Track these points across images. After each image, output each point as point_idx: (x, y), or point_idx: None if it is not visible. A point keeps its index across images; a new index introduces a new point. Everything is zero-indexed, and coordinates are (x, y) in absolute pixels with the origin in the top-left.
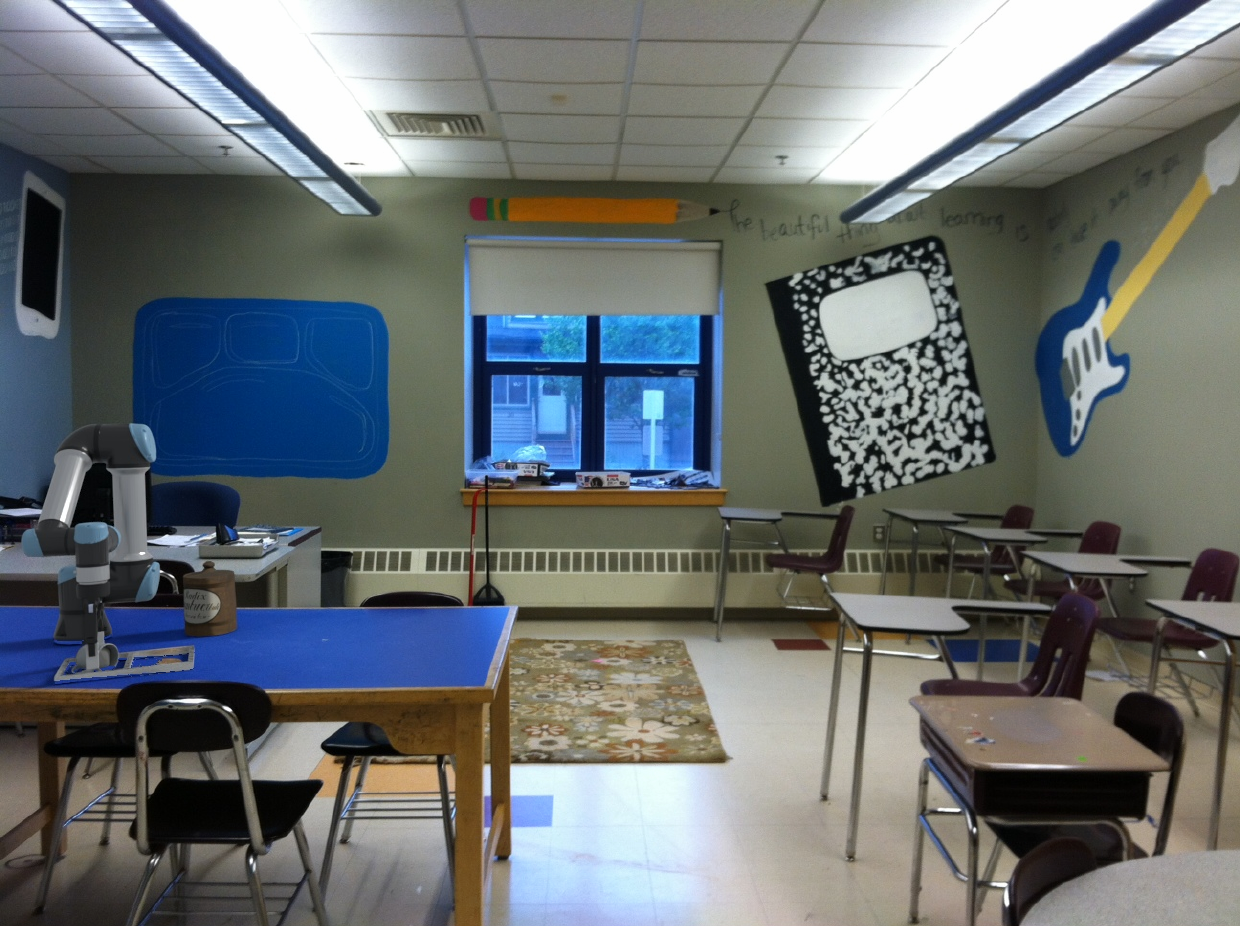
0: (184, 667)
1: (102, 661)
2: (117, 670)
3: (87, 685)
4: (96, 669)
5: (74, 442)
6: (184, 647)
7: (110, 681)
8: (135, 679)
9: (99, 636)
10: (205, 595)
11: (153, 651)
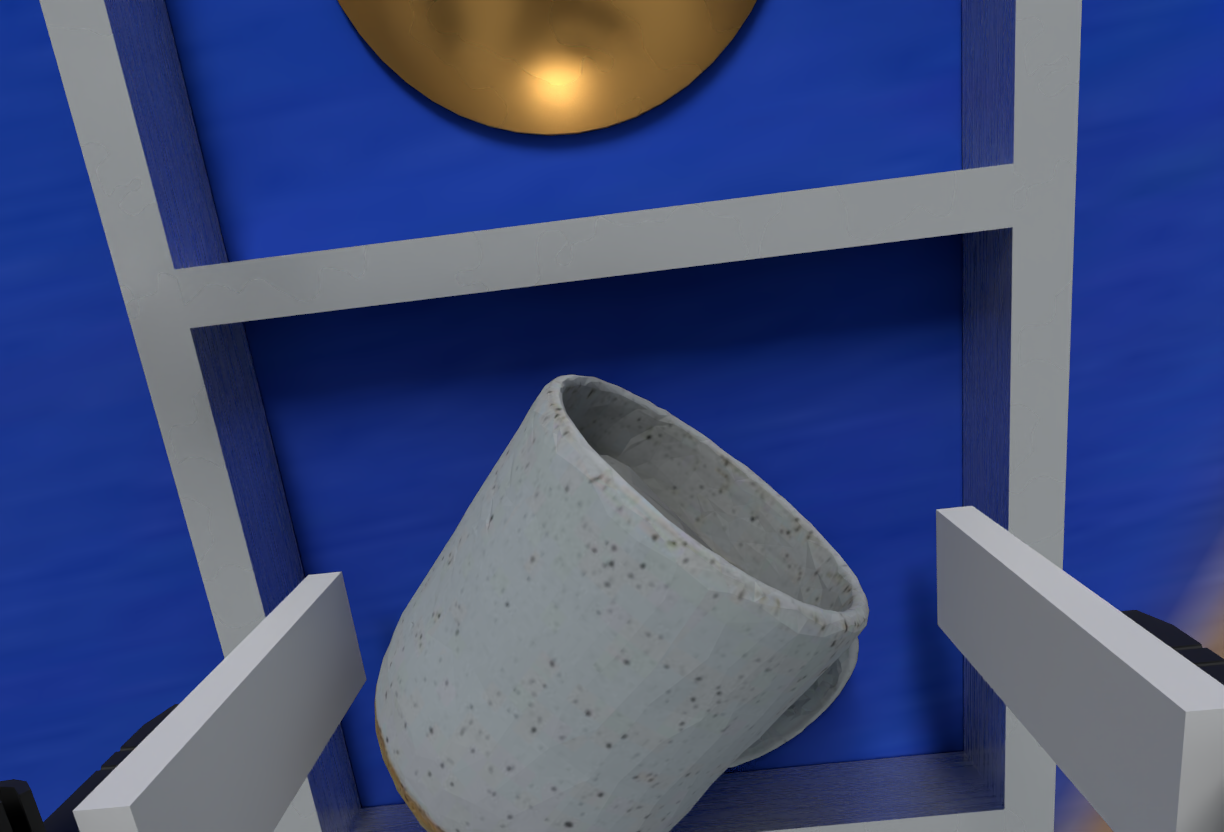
0: None
1: (688, 528)
2: (1071, 282)
3: (1165, 514)
4: (780, 542)
5: None
6: None
7: (1121, 327)
8: (1175, 62)
9: (201, 803)
10: None
11: (117, 14)
